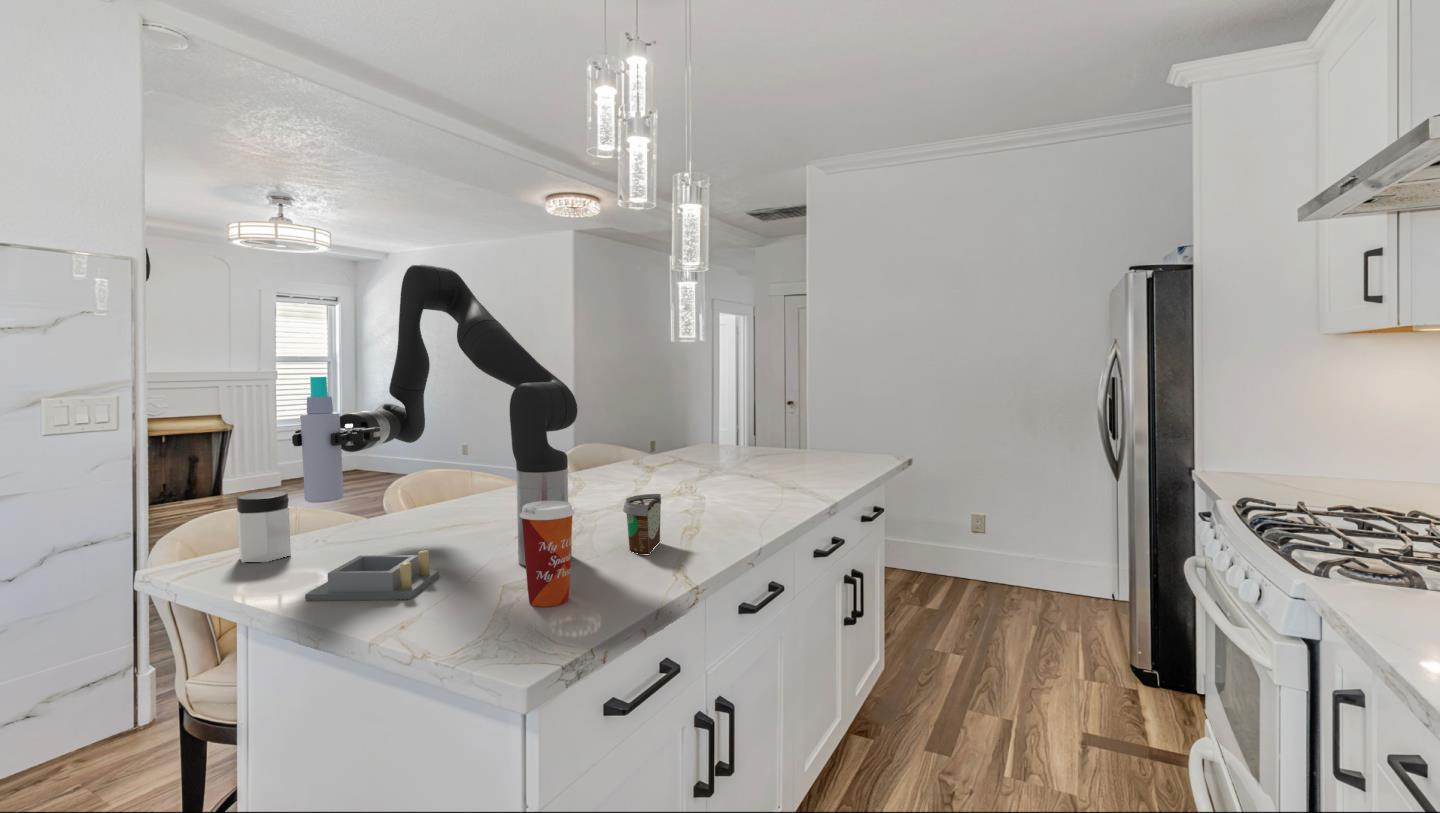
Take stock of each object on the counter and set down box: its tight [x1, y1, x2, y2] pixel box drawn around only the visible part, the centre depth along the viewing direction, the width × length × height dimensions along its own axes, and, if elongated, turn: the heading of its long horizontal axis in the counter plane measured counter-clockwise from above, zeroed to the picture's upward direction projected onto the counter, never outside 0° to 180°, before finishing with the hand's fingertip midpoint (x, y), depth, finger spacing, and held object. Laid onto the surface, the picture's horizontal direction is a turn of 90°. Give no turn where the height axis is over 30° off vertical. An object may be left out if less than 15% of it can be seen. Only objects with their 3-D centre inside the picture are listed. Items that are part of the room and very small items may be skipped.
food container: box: [622, 493, 662, 555], centre depth 137 cm, size 12×6×10 cm, turn 172°
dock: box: [304, 549, 440, 602], centre depth 114 cm, size 16×12×5 cm
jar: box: [236, 491, 292, 564], centre depth 132 cm, size 9×8×12 cm
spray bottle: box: [300, 376, 345, 504], centre depth 123 cm, size 6×6×22 cm
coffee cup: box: [519, 501, 576, 608], centre depth 107 cm, size 8×8×15 cm
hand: (314, 440), depth 120 cm, fingers closed on spray bottle, 6 cm apart
